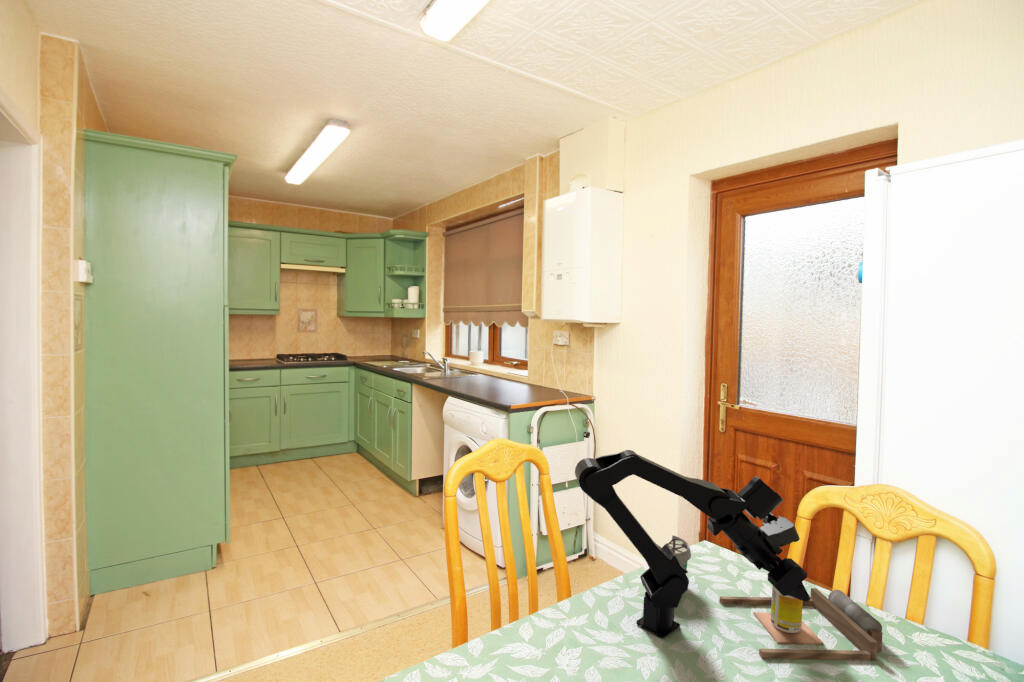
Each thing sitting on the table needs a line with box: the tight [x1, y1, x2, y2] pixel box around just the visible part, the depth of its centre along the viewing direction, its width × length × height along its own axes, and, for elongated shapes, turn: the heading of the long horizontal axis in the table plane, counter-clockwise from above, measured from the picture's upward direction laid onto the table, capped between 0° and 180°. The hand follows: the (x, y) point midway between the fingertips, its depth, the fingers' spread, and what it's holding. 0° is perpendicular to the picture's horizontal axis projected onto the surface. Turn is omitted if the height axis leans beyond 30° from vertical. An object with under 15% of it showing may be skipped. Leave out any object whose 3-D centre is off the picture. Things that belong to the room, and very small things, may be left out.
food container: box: [666, 534, 692, 575], centre depth 119 cm, size 12×6×10 cm, turn 143°
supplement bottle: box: [770, 585, 804, 633], centre depth 105 cm, size 6×6×10 cm
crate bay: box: [719, 587, 884, 661], centre depth 105 cm, size 25×19×5 cm
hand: (795, 587), depth 104 cm, fingers open, 9 cm apart
